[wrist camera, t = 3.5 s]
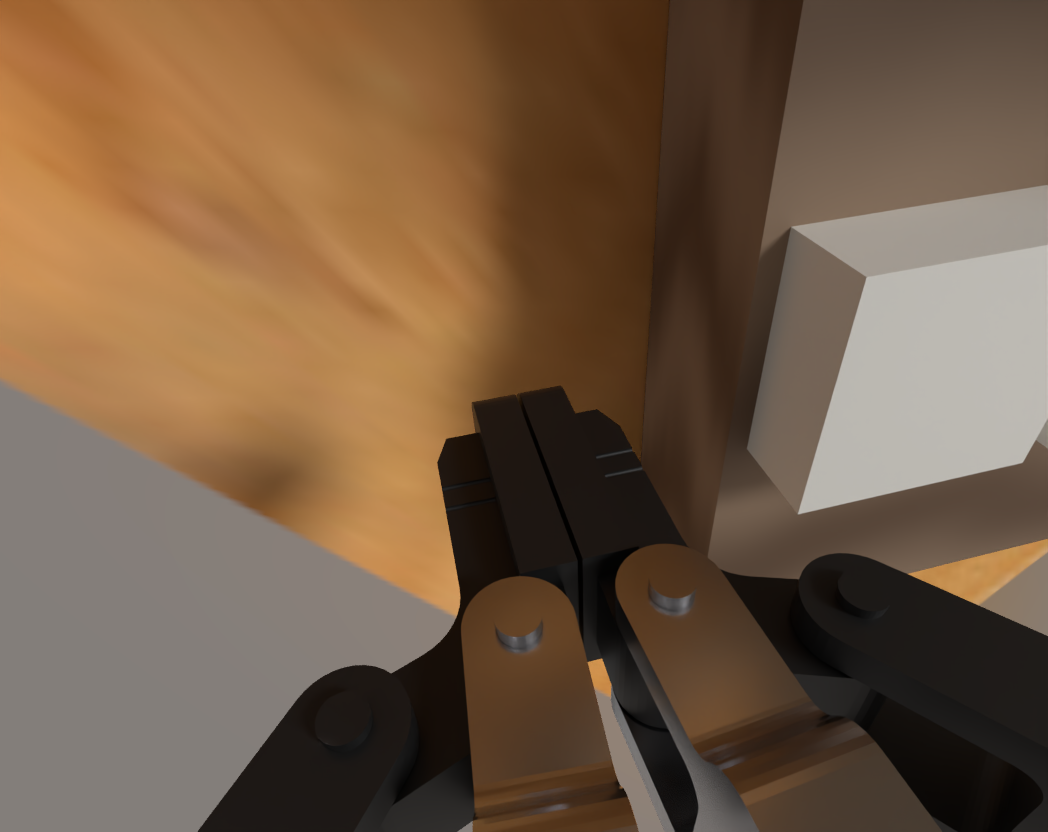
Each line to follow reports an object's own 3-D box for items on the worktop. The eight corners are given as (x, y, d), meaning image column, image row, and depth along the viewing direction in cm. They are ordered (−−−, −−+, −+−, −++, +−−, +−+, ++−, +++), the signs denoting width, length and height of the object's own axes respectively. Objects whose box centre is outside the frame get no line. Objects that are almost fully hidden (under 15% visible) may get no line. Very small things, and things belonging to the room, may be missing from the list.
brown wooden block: (686, -266, 10) (866, -369, 7) (1298, -298, 12) (1701, -392, 8) (637, 512, 21) (695, 626, 18) (954, 442, 23) (1064, 534, 19)
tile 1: (791, 227, 11) (866, 276, 9) (1047, 185, 11) (1157, 225, 10) (746, 448, 14) (797, 514, 12) (949, 405, 14) (1022, 462, 13)
